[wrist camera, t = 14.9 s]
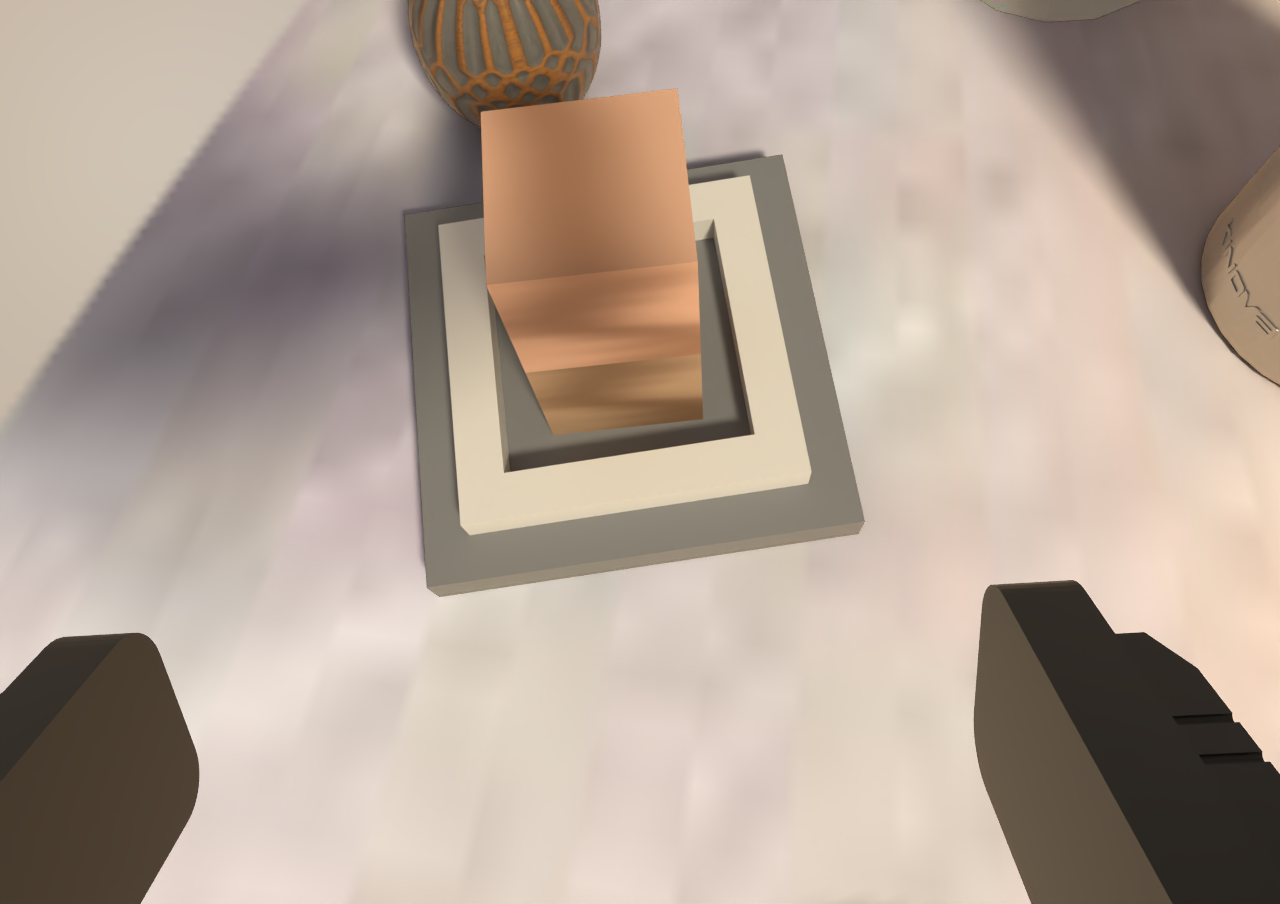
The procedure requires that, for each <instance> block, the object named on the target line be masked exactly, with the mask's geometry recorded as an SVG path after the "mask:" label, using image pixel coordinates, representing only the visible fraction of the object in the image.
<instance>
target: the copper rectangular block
mask: <svg viewBox="0 0 1280 904" xmlns="http://www.w3.org/2000/svg"><path fill="white" fill-rule="evenodd" d="M481 138H482V170H483V202H484V234H485V266H486V286H487V288H488V290H489V293H490V295H491V297H492V299H493V302H494V304H495V306H496V308H497V311H498V313H499V315H500V317H501V319H502V322H503V324H504V326H505V328H506V331H507V333H508V335H509V337H510V340H511V342H512V344H513V346H514V348H515V351H516V353H517V355H518V357H519V360H520V362H521V364H522V366H523V369H524V371H525V373H526V375H527V377H528V380H529V382H530V384H531V386H532V389H533V391H534V393H535V395H536V398H537V400H538V402H539V404H540V406H541V409H542V411H543V413H544V415H545V418H546V420H547V422H548V424H549V427H550V429H551V431H552V433H553V435H558V434H567V433H577V432H587V431H596V430H606V429H615V428H625V427H635V426H644V425H654V424H664V423H673V422H683V421H692V420H702V419H703V400H702V371H701V341H700V312H699V283H698V259H697V251H696V242H695V234H694V225H693V217H692V208H691V200H690V191H689V183H688V174H687V166H686V157H685V149H684V140H683V132H682V123H681V115H680V106H679V98H678V89H669V90H660V91H652V92H643V93H635V94H626V95H618V96H610V97H601V98H593V99H584V100H576V101H567V102H559V103H550V104H542V105H533V106H525V107H517V108H508V109H500V110H491V111H483V112H481Z"/></svg>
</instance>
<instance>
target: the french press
mask: <svg viewBox="0 0 1280 904" xmlns="http://www.w3.org/2000/svg"><path fill="white" fill-rule="evenodd" d="M981 1H983V2H984V3H986V4H988V5H989V6H991V7H992V8H994V9H995V10H998V11H1002V12H1006V13H1010V14H1014V15H1018V16H1022V17H1026V18H1030V19H1034V20H1039V21H1043V22H1055V21H1071V20H1087V19H1096V18H1099V17H1101V16H1104V15H1106V14H1109V13H1111V12H1114V11H1116V10H1119V9H1121V8H1123V7H1126V6H1128V5H1131V4H1133V3H1136V2H1138V1H1139V0H981Z"/></svg>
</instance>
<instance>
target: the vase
mask: <svg viewBox="0 0 1280 904" xmlns="http://www.w3.org/2000/svg"><path fill="white" fill-rule="evenodd" d="M408 16H409V25H410V31H411V36H412V40H413V44H414V46H415V49H416V52H417V55H418V58H419V60H420V62H421V64H422V67H423V69H424V71H425V73H426V74H427V76H428V78H429V80H430V82H431V83H432V85H433V87H434V88H435V89H436V90H437V92H438V93H439V94H440V96H441V97H442V98H443V99H444V100H445V101H446V102H447V104H449V105H450V106H451V107H452V108H453V109H454V110H455V111H456V112H457V113H458V114H460V115H461V116H462V117H464V118H465V119H467V120H468V121H470V122H471V123H473V124H475V125H477V126H479V127H481V112H483V111H491V110H500V109H508V108H517V107H525V106H533V105H542V104H550V103H559V102H567V101H576V100H582V99H583V97H584V96H585V94H586V92H587V91H588V89H589V86H590V84H591V82H592V80H593V78H594V75H595V71H596V68H597V64H598V60H599V54H600V47H601V20H600V11H599V5H598V0H408Z"/></svg>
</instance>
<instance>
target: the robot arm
mask: <svg viewBox="0 0 1280 904" xmlns="http://www.w3.org/2000/svg"><path fill="white" fill-rule="evenodd" d="M1202 286H1203V290H1204V293H1205V297H1206V301H1207V305H1208V308H1209V310H1210V312H1211V314H1212V316H1213V318H1214V320H1215V322H1216V324H1217V326H1218V328H1219V330H1220V332H1221V333H1222V334H1223V335H1224V337H1225V338H1226V339H1227V340H1228V342H1229V343H1230V344H1231V345H1232V347H1233V348H1234V349H1235V350H1236V352H1237V353H1238V354H1239V355H1240V356H1241V357H1242V358H1244V359H1245V360H1246V361H1247V362H1248V363H1249V364H1250V365H1252V366H1253V367H1254V368H1255V369H1256V370H1257V371H1259V372H1260V373H1261V374H1262V375H1264V376H1265V377H1267V378H1269V379H1270V380H1272V381H1274V382H1275V383H1277V384H1279V385H1280V146H1279V147H1278V148H1277V149H1276V151H1275V152H1274V153H1273V154H1272V155H1271V156H1270V158H1269V159H1268V160H1267V161H1266V162H1265V163H1264V164H1263V166H1262V167H1261V168H1260V169H1259V170H1258V171H1257V173H1256V174H1255V175H1254V176H1253V177H1252V178H1251V180H1250V181H1249V182H1248V183H1247V184H1246V185H1245V186H1244V188H1243V189H1242V190H1241V191H1240V192H1239V193H1238V195H1237V196H1236V197H1235V198H1234V199H1233V200H1232V202H1231V203H1230V204H1229V205H1228V206H1227V207H1226V208H1225V210H1224V211H1223V212H1222V213H1221V214H1220V215H1219V217H1218V219H1217V220H1216V222H1215V224H1214V225H1213V227H1212V229H1211V231H1210V232H1209V234H1208V236H1207V240H1206V243H1205V247H1204V251H1203V255H1202ZM974 736H975V745H976V752H977V758H978V763H979V767H980V771H981V775H982V778H983V782H984V784H985V787H986V790H987V792H988V795H989V798H990V800H991V803H992V805H993V808H994V810H995V813H996V815H997V818H998V820H999V823H1000V825H1001V828H1002V830H1003V833H1004V835H1005V838H1006V841H1007V843H1008V846H1009V848H1010V851H1011V853H1012V856H1013V858H1014V861H1015V863H1016V866H1017V868H1018V871H1019V873H1020V876H1021V878H1022V881H1023V884H1024V886H1025V889H1026V891H1027V894H1028V896H1029V899H1030V901H1031V904H1280V774H1279V773H1278V771H1277V770H1276V769H1275V768H1274V766H1273V765H1272V764H1271V762H1264V760H1263V757H1262V751H1261V749H1260V748H1259V747H1258V746H1257V744H1256V743H1255V742H1254V740H1253V739H1252V738H1251V737H1250V735H1249V734H1248V733H1247V731H1246V730H1245V729H1244V728H1243V726H1242V725H1241V724H1240V722H1235V723H1234V721H1233V718H1232V712H1231V711H1230V710H1229V708H1228V707H1227V706H1226V704H1225V703H1224V702H1223V700H1222V699H1221V698H1220V697H1219V695H1218V694H1217V693H1216V691H1215V690H1214V689H1213V688H1212V686H1211V685H1210V684H1209V682H1208V681H1207V680H1206V679H1205V677H1204V676H1203V675H1202V673H1201V672H1200V671H1199V670H1198V668H1196V667H1195V666H1193V665H1192V664H1190V663H1189V662H1187V661H1186V660H1184V659H1183V658H1182V657H1180V656H1179V655H1177V654H1176V653H1174V652H1173V651H1171V650H1170V649H1168V648H1167V647H1165V646H1164V645H1162V644H1161V643H1159V642H1158V641H1156V640H1155V639H1153V638H1152V637H1151V636H1149V635H1148V634H1146V633H1145V632H1141V633H1123V634H1115V633H1114V632H1113V630H1112V629H1111V627H1110V626H1109V624H1108V623H1107V621H1106V620H1105V619H1104V617H1103V616H1102V614H1101V613H1100V611H1099V610H1098V608H1097V607H1096V606H1095V604H1094V603H1093V601H1092V600H1091V598H1090V597H1089V595H1088V594H1087V592H1086V591H1085V590H1084V588H1083V587H1082V586H1081V585H1080V584H1079V583H1078V582H1076V581H1074V580H1067V581H1050V582H1033V583H1016V584H999V585H990V586H989V587H988V588H987V589H986V591H985V594H984V598H983V604H982V614H981V627H980V640H979V653H978V667H977V680H976V693H975V706H974ZM198 787H199V762H198V757H197V753H196V749H195V747H194V744H193V741H192V739H191V736H190V733H189V731H188V728H187V725H186V723H185V720H184V717H183V714H182V712H181V709H180V706H179V704H178V701H177V698H176V696H175V693H174V690H173V688H172V685H171V682H170V680H169V677H168V674H167V672H166V669H165V666H164V664H163V661H162V658H161V656H160V653H159V651H158V649H157V647H156V645H155V644H154V642H153V641H152V640H151V639H150V638H149V637H148V636H146V635H144V634H141V633H125V634H108V635H91V636H74V637H62V638H59V639H56V640H54V641H53V642H51V643H50V644H49V645H48V646H46V647H45V648H44V649H43V650H42V651H41V653H40V654H39V655H38V656H37V657H36V658H35V659H34V660H33V661H32V662H31V663H30V664H29V665H28V666H27V667H26V668H25V669H24V671H23V672H22V673H21V674H20V675H19V676H18V677H17V678H16V679H15V680H14V681H13V682H12V683H11V684H10V685H9V686H8V687H7V688H6V690H5V691H4V692H3V693H1V694H0V904H141V902H142V900H143V898H144V897H145V895H146V893H147V891H148V890H149V888H150V886H151V884H152V883H153V881H154V879H155V878H156V876H157V874H158V872H159V871H160V869H161V867H162V865H163V864H164V862H165V860H166V859H167V857H168V855H169V853H170V852H171V850H172V848H173V846H174V845H175V843H176V841H177V839H178V838H179V836H180V834H181V833H182V831H183V829H184V827H185V826H186V824H187V822H188V820H189V818H190V816H191V814H192V811H193V809H194V806H195V802H196V799H197V793H198Z"/></svg>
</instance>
